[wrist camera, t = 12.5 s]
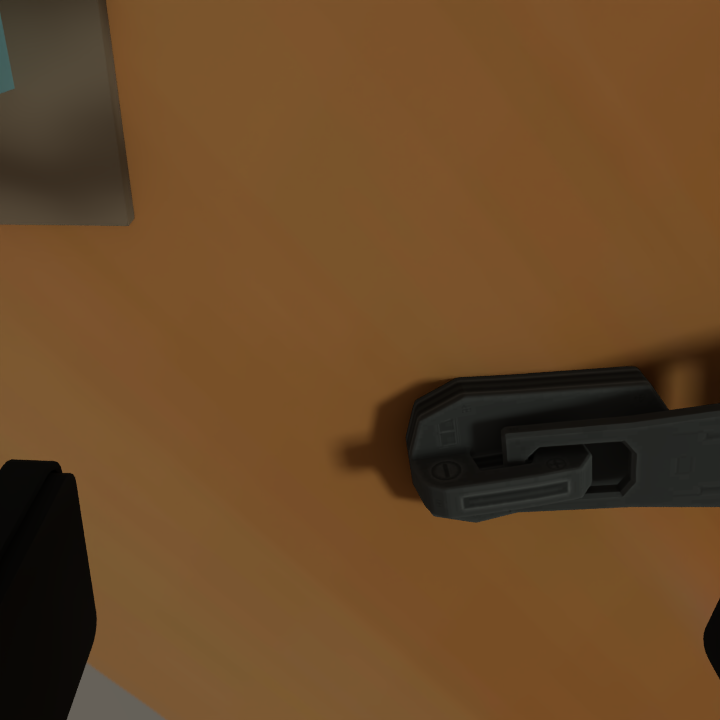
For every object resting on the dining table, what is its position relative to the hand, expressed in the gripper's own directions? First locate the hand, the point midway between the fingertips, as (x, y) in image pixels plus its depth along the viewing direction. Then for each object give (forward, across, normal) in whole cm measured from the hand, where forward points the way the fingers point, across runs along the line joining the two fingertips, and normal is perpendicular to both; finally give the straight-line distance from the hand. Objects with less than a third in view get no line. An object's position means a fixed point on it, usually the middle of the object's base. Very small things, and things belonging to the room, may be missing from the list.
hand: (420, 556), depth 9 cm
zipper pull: (+26, -17, +15) cm, 34 cm away
